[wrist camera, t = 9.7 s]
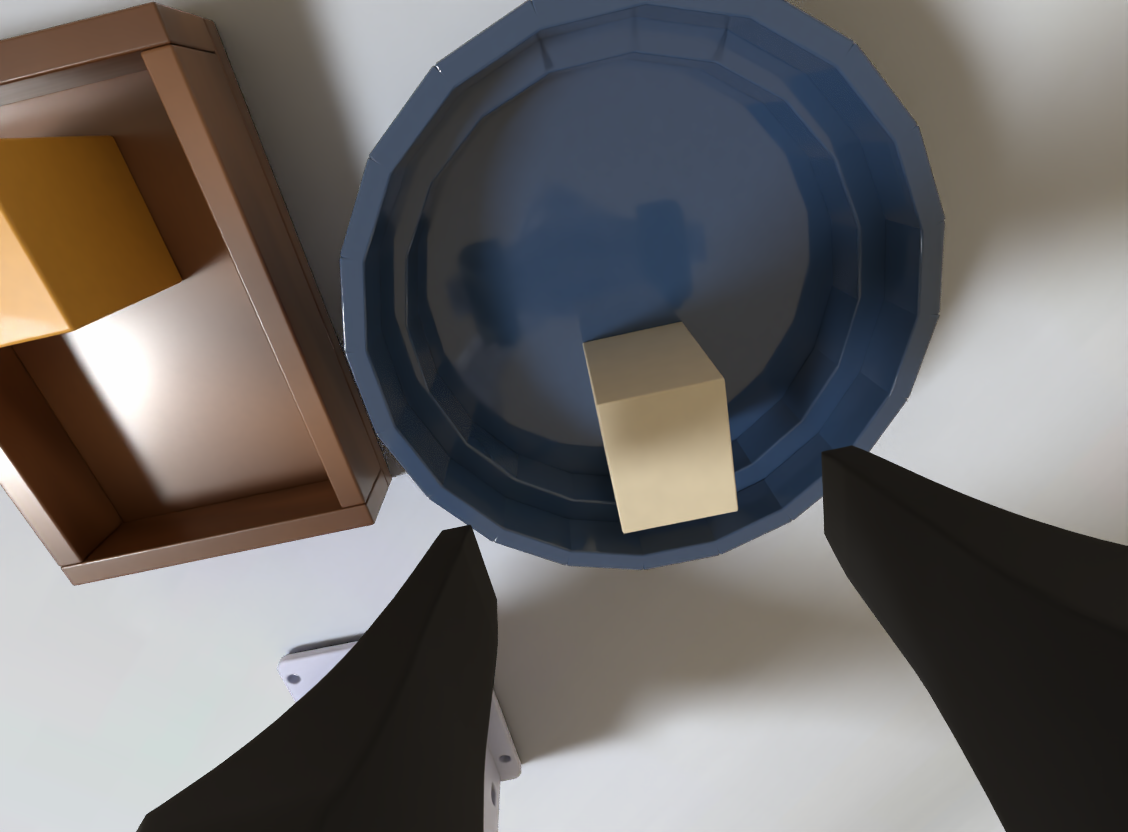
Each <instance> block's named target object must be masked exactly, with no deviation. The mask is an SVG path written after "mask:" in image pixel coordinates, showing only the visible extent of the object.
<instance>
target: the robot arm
mask: <svg viewBox="0 0 1128 832" xmlns="http://www.w3.org/2000/svg"><path fill="white" fill-rule="evenodd" d="M821 458H822V483H823V509H824V534H825V536H826V538H827V540H828V542H829V544H830V546H831V548H832V550H833V552H834V554H835V555H836V557H837V559H838V561H839V563H840V565H841V567H842V568H843V570H844V572H845V574H846V576H847V577H848V579H849V580H850V582H851V583H852V584H853V586H854V587H855V589H856V590H857V591H858V593H859V594H860V596H861V597H862V599H863V600H864V601H865V603H866V604H867V606H868V607H869V608H870V610H871V611H872V613H873V614H874V615H875V617H876V618H877V619H878V621H879V622H880V624H881V625H882V626H883V628H884V629H885V630H886V632H887V633H888V635H889V636H890V637H891V639H892V640H893V642H894V643H895V644H896V646H897V647H898V648H899V650H900V651H901V653H902V654H903V655H904V657H905V658H906V660H907V661H908V662H909V664H910V665H911V666H912V668H913V669H914V671H915V672H916V674H917V675H918V677H919V678H920V680H921V681H922V683H923V684H924V686H925V687H926V689H927V690H928V692H929V694H930V695H931V697H932V699H933V701H934V702H935V704H936V706H937V707H938V709H939V711H940V713H941V714H942V716H943V718H944V720H945V721H946V723H947V725H948V726H949V728H950V730H951V732H952V733H953V735H954V737H955V739H956V740H957V742H958V744H959V746H960V747H961V749H962V751H963V753H964V755H965V757H966V758H967V760H968V762H969V764H970V766H971V767H972V769H973V771H974V773H975V775H976V777H977V778H978V780H979V782H980V784H981V786H982V787H983V789H984V791H985V793H986V795H987V797H988V798H989V800H990V802H991V804H992V806H993V808H994V810H995V812H996V814H997V816H998V818H999V820H1000V821H1001V823H1002V825H1003V827H1004V829H1005V831H1006V832H1128V546H1125V545H1121V544H1117V543H1113V542H1109V541H1105V540H1101V539H1097V538H1093V537H1089V536H1086V535H1082V534H1078V533H1075V532H1071V531H1068V530H1065V529H1062V528H1058V527H1055V526H1052V525H1049V524H1046V523H1042V522H1039V521H1036V520H1033V519H1029V518H1026V517H1024V516H1021V515H1018V514H1015V513H1012V512H1009V511H1006V510H1004V509H1001V508H998V507H996V506H993V505H990V504H988V503H985V502H983V501H980V500H977V499H975V498H972V497H970V496H967V495H965V494H962V493H960V492H957V491H955V490H953V489H950V488H948V487H946V486H943V485H941V484H939V483H936V482H934V481H932V480H929V479H927V478H925V477H923V476H920V475H918V474H916V473H914V472H912V471H909V470H907V469H905V468H903V467H901V466H898V465H896V464H894V463H892V462H890V461H888V460H885V459H883V458H881V457H879V456H876V455H874V454H872V453H870V452H867V451H865V450H863V449H860V448H858V447H855V446H852V445H851V446H847V447H842V448H837V449H832V450H827V451H822V452H821ZM497 647H498V621H497V599H496V596H495V593H494V590H493V587H492V584H491V581H490V578H489V575H488V573H487V570H486V567H485V564H484V561H483V558H482V555H481V552H480V549H479V547H478V544H477V541H476V538H475V535H474V532H473V529H472V526H471V525H466V526H462V527H457V528H452V529H447V530H442V532H441V533H440V534H439V536H438V537H437V538H436V540H435V541H434V543H433V544H432V545H431V547H430V548H429V550H428V551H427V553H426V554H425V555H424V557H423V558H422V560H421V561H420V562H419V564H418V565H417V567H416V568H415V570H414V571H413V572H412V574H411V575H410V576H409V578H408V579H407V581H406V582H405V583H404V585H403V586H402V587H401V589H400V590H399V591H398V593H397V594H396V596H395V597H394V598H393V599H392V601H391V602H390V603H389V604H388V606H387V607H386V608H385V609H384V611H383V612H382V613H381V614H380V615H379V617H378V618H377V619H376V620H375V622H374V623H373V624H372V625H371V627H370V628H369V629H368V630H367V631H366V633H365V634H364V635H363V636H362V637H361V638H360V640H359V641H355V642H350V643H345V644H340V645H335V646H330V647H325V648H319V649H314V650H309V651H304V652H299V653H294V654H289V655H285V656H283V657H282V658H281V659H280V661H279V663H278V665H277V671H278V673H279V675H280V676H281V678H282V680H283V682H284V683H285V685H286V687H287V689H288V690H289V692H290V694H291V696H292V697H293V699H294V701H295V702H296V703H295V704H294V705H293V706H292V707H291V708H289V709H288V710H287V711H286V712H285V713H284V714H283V715H282V716H281V717H279V718H278V719H277V720H276V721H275V722H274V723H272V724H271V725H270V726H269V727H267V728H266V729H265V730H264V731H262V732H261V733H260V734H259V735H258V736H256V737H255V738H254V739H253V740H251V741H250V742H249V743H247V744H246V745H245V746H243V747H242V748H241V749H240V750H238V751H237V752H236V753H234V754H233V755H232V756H230V757H229V758H228V759H227V760H225V761H224V762H222V763H221V764H220V765H218V766H217V767H216V768H214V769H213V770H211V771H210V772H209V773H207V774H206V775H204V776H203V777H201V778H200V779H198V780H197V781H195V782H194V783H193V784H191V785H190V786H188V787H187V788H185V789H184V790H182V791H181V792H179V793H178V794H176V795H175V796H174V797H172V798H171V799H169V800H168V801H166V802H165V803H163V804H162V805H160V806H159V807H157V808H156V809H154V810H153V811H151V812H149V813H148V814H146V816H145V818H144V819H143V821H142V823H141V824H140V826H139V828H138V830H137V831H136V832H498V819H499V799H500V781H506V780H511V779H515V778H517V777H518V776H520V774H521V762H520V759H519V757H518V754H517V751H516V749H515V746H514V743H513V741H512V738H511V735H510V732H509V730H508V727H507V724H506V722H505V719H504V716H503V714H502V711H501V708H500V706H499V703H498V700H497V697H496V695H495V692H494V689H493V685H494V676H495V667H496V657H497ZM293 674H295V675H293ZM296 675H298V676H296Z"/></svg>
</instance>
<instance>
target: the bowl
mask: <svg viewBox="0 0 1128 832" xmlns="http://www.w3.org/2000/svg"><path fill="white" fill-rule="evenodd" d="M944 220H945V216H944V212H943V209H942V205H941V202H940V198H939V195H938V191H937V188H936V184H935V181H934V177H933V174H932V170H931V167H930V163H929V160H928V156H927V153H926V149H925V146H924V142H923V139H922V135H921V132H920V128H919V126H918V125H917V123H916V121H915V120H914V119H913V117H912V116H911V115H910V113H909V112H908V111H907V109H906V108H905V107H904V105H903V104H902V103H901V101H900V100H899V99H898V97H897V96H896V95H895V93H894V92H893V91H892V89H891V88H890V87H889V85H888V84H887V83H886V81H885V80H884V79H883V78H882V76H881V75H880V74H879V72H878V71H877V70H876V68H875V67H874V66H873V64H872V63H871V62H870V60H869V59H868V58H867V56H866V55H865V54H864V52H863V51H862V50H861V48H860V47H859V46H858V44H856V43H854V41H853V40H852V39H850V38H848V37H847V36H845V35H843V34H842V33H840V32H838V31H837V30H835V29H833V28H832V27H830V26H828V25H826V24H825V23H823V22H821V21H820V20H818V19H816V18H815V17H813V16H811V15H810V14H808V13H806V12H804V11H803V10H801V9H799V8H798V7H796V6H794V5H793V4H791V3H789V2H787V1H786V0H527V1H525V2H524V3H523V4H521V5H520V6H518V7H517V8H515V9H514V10H512V11H511V12H509V13H508V14H507V15H505V16H504V17H502V18H501V19H499V20H498V21H496V22H495V23H493V24H492V25H491V26H489V27H488V28H486V29H485V30H483V31H482V32H480V33H479V34H477V35H476V36H475V37H473V38H472V39H470V40H469V41H467V42H466V43H464V44H463V45H462V46H460V47H459V48H457V49H456V50H454V51H453V52H451V53H450V54H448V55H447V56H446V57H444V58H443V59H441V60H440V61H438V62H437V63H436V64H435V66H432V68H431V69H430V70H429V72H428V73H427V75H426V76H425V77H424V79H423V80H422V82H421V83H420V84H419V86H418V87H417V88H416V90H415V91H414V93H413V94H412V95H411V97H410V98H409V100H408V101H407V102H406V104H405V105H404V107H403V108H402V109H401V111H400V112H399V114H398V115H397V116H396V118H395V119H394V121H393V122H392V123H391V125H390V126H389V128H388V129H387V130H386V132H385V133H384V135H383V136H382V137H381V139H380V140H379V142H378V143H377V144H376V146H375V147H374V149H373V150H372V151H371V153H370V154H369V158H368V159H367V163H366V166H365V170H364V173H363V176H362V180H361V183H360V187H359V190H358V194H357V197H356V201H355V204H354V207H353V211H352V214H351V218H350V221H349V225H348V228H347V232H346V235H345V238H344V242H343V245H342V249H341V252H340V255H341V257H340V259H339V262H340V282H341V303H342V324H343V344H344V351H345V356H346V358H347V361H348V363H349V366H350V368H351V371H352V373H353V376H354V379H355V381H356V384H357V386H358V389H359V391H360V394H361V397H362V399H363V402H364V404H365V407H366V409H367V412H368V415H369V417H370V420H371V422H372V425H373V427H374V430H375V432H376V433H377V436H378V437H379V438H380V440H381V441H382V442H383V443H384V445H385V446H386V447H387V448H388V449H389V451H390V452H391V453H392V454H393V456H394V457H395V458H396V459H397V461H398V462H399V463H400V464H401V465H402V467H403V468H404V469H405V470H406V472H407V473H408V474H409V475H410V477H411V478H412V479H413V480H414V481H415V483H416V484H417V485H418V486H419V488H420V489H421V490H422V491H423V493H424V494H425V495H426V496H427V497H428V498H429V499H430V500H432V501H433V502H434V503H436V504H437V505H439V506H440V507H442V508H443V509H445V510H446V511H448V512H449V513H451V514H452V515H454V516H455V517H457V518H458V519H460V520H461V521H463V522H464V523H466V524H467V525H471V526H472V528H473V529H474V530H476V531H477V532H479V533H480V534H482V535H483V536H485V537H486V538H488V539H489V540H491V541H494V542H495V543H498V544H501V545H504V546H507V547H510V548H514V549H517V550H520V551H523V552H526V553H529V554H532V555H535V556H538V557H541V558H544V559H547V560H550V561H553V562H556V563H559V564H562V565H568V566H578V567H596V568H614V569H632V570H643V569H644V570H647V569H652V568H657V567H662V566H667V565H672V564H677V563H682V562H687V561H692V560H697V559H703V558H708V557H713V556H718V555H719V553H720V554H723V553H726V552H728V551H730V550H732V549H734V548H736V547H738V546H740V545H743V544H745V543H747V542H749V541H751V540H753V539H755V538H758V537H760V536H762V535H764V534H766V533H768V532H770V531H772V530H775V529H777V528H779V527H781V526H783V525H785V524H787V523H790V522H791V521H792V520H795V519H796V518H797V517H798V516H799V515H801V514H802V513H803V512H804V511H806V510H807V509H808V508H809V507H810V506H812V505H813V504H814V503H815V502H817V501H818V500H819V499H820V498H822V497H823V483H822V458H821V452H822V451H827V450H832V449H837V448H842V447H847V446H851V445H852V446H855V447H858V448H860V449H863V450H865V451H867V452H870V450H871V449H872V447H873V446H874V445H875V443H876V442H877V441H878V439H879V438H880V437H881V435H882V434H883V432H884V431H885V430H886V428H887V427H888V426H889V424H890V423H891V422H892V420H893V419H894V417H895V416H896V415H897V413H898V412H899V411H900V409H901V408H902V406H903V405H904V404H905V402H906V401H907V398H909V396H910V393H911V391H912V388H913V385H914V383H915V380H916V377H917V375H918V372H919V369H920V367H921V364H922V361H923V358H924V356H925V353H926V350H927V348H928V345H929V342H930V340H931V337H932V334H933V332H934V329H935V326H936V324H937V321H938V318H939V312H940V301H941V284H942V266H943V249H944V231H945V221H944ZM677 322H682V323H683V324H684V325H685V327H686V328H687V329H688V331H689V332H690V333H691V335H692V336H693V337H694V339H695V340H696V341H697V343H698V344H699V345H700V347H701V348H702V349H703V351H704V352H705V353H706V355H707V356H708V357H709V359H710V360H711V361H712V363H713V364H714V365H715V367H716V368H717V370H718V371H719V372H720V374H721V375H722V376H723V378H724V379H725V388H726V398H727V407H728V417H729V426H730V436H731V445H732V455H733V464H734V474H735V483H736V493H737V502H738V511H735V512H730V513H725V514H720V515H715V516H710V517H705V518H700V519H695V520H690V521H685V522H680V523H675V524H670V525H665V526H660V527H655V528H650V529H645V530H640V531H635V532H630V533H623V532H622V527H621V522H620V518H619V513H618V509H617V504H616V500H615V495H614V490H613V486H612V481H611V477H610V472H609V467H608V463H607V458H606V454H605V449H604V444H603V440H602V435H601V430H600V425H599V420H598V416H597V411H596V406H595V401H594V396H593V392H592V387H591V382H590V377H589V372H588V368H587V363H586V358H585V353H584V348H583V343H585V342H589V341H594V340H598V339H603V338H608V337H612V336H617V335H622V334H626V333H631V332H635V331H640V330H645V329H649V328H654V327H659V326H663V325H668V324H672V323H677Z"/></svg>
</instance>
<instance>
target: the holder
mask: <svg viewBox="0 0 1128 832" xmlns="http://www.w3.org/2000/svg"><path fill="white" fill-rule="evenodd" d="M100 135H109V136H112V137H113V138H114V140H115V142H116V144H117V146H118V148H119V150H120V152H121V154H122V156H123V158H124V160H125V162H126V165H127V167H128V169H129V171H130V173H131V175H132V177H133V179H134V181H135V183H136V185H137V187H138V189H139V191H140V193H141V195H142V198H143V200H144V202H145V204H146V206H147V208H148V210H149V212H150V214H151V216H152V218H153V220H154V222H155V224H156V226H157V228H158V231H159V233H160V235H161V237H162V239H163V241H164V243H165V245H166V247H167V249H168V251H169V253H170V255H171V257H172V259H173V261H174V264H175V266H176V268H177V270H178V272H179V274H180V276H181V278H182V282H180V283H178V284H176V285H174V286H172V287H170V288H167V289H165V290H163V291H161V292H159V293H157V294H154V295H152V296H150V297H148V298H146V299H143V300H141V301H139V302H137V303H135V304H132V305H130V306H128V307H126V308H124V309H121V310H119V311H117V312H115V313H113V314H110V315H108V316H106V317H104V318H102V319H99V320H97V321H95V322H93V323H91V324H88V325H86V326H84V327H82V328H80V329H77V330H75V331H72V332H68V333H63V334H59V335H55V336H50V337H46V338H41V339H37V340H33V341H28V342H24V343H19V344H15V345H11V346H6V347H2V348H0V484H1V486H2V487H3V489H4V490H5V491H6V493H7V494H8V496H9V497H10V498H11V500H12V501H13V503H14V504H15V505H16V507H17V508H18V509H19V511H20V512H21V514H22V515H23V516H24V518H25V519H26V521H27V522H28V523H29V525H30V526H31V528H32V529H33V530H34V532H35V533H36V535H37V536H38V537H39V539H40V540H41V541H42V543H43V544H44V546H45V547H46V548H47V550H48V551H49V553H50V554H51V555H52V557H53V558H54V560H55V561H56V562H57V564H58V565H59V566H62V567H61V569H62V571H63V572H64V573H65V575H66V576H67V577H68V579H69V580H70V582H71V583H72V584H73V585H74V586H75V585H80V584H85V583H90V582H95V581H100V580H105V579H110V578H114V577H119V576H124V575H129V574H134V573H139V572H144V571H149V570H153V569H158V568H163V567H168V566H173V565H178V564H183V563H188V562H193V561H197V560H202V559H207V558H212V557H217V556H222V555H227V554H232V553H236V552H241V551H246V550H251V549H256V548H261V547H266V546H271V545H275V544H280V543H285V542H290V541H295V540H300V539H305V538H310V537H314V536H319V535H324V534H329V533H334V532H339V531H344V530H349V529H353V528H358V527H363V526H368V525H373V524H374V523H375V521H376V518H377V515H378V513H379V510H380V508H381V505H382V503H383V500H384V498H385V495H386V493H387V490H388V487H389V485H390V482H391V480H392V477H391V475H390V472H389V469H388V467H387V464H386V462H385V459H384V457H383V454H382V451H381V449H380V446H379V444H378V441H377V439H376V436H375V434H374V431H373V428H372V426H371V423H370V421H369V418H368V416H367V413H366V410H365V408H364V405H363V403H362V400H361V398H360V395H359V393H358V390H357V387H356V385H355V382H354V380H353V377H352V375H351V372H350V369H349V367H348V364H347V362H346V359H345V357H344V354H343V352H342V349H341V346H340V344H339V341H338V339H337V336H336V334H335V331H334V329H333V326H332V323H331V321H330V318H329V316H328V313H327V311H326V308H325V305H324V303H323V300H322V298H321V295H320V293H319V290H318V288H317V285H316V282H315V280H314V277H313V275H312V272H311V270H310V267H309V264H308V262H307V259H306V257H305V254H304V252H303V249H302V247H301V244H300V241H299V239H298V236H297V234H296V231H295V229H294V226H293V223H292V221H291V218H290V216H289V213H288V211H287V208H286V206H285V203H284V200H283V198H282V195H281V193H280V190H279V188H278V185H277V182H276V180H275V177H274V175H273V172H272V170H271V167H270V165H269V162H268V159H267V157H266V154H265V152H264V149H263V147H262V144H261V142H260V139H259V136H258V134H257V131H256V129H255V126H254V124H253V121H252V118H251V116H250V113H249V111H248V108H247V106H246V103H245V101H244V98H243V95H242V93H241V90H240V88H239V85H238V83H237V80H236V77H235V75H234V72H233V70H232V67H231V65H230V62H229V60H228V57H227V54H226V52H225V49H224V47H223V44H222V42H221V39H220V36H219V34H218V31H217V29H216V26H215V24H214V22H213V21H212V20H209V19H206V18H202V17H200V16H197V15H194V14H190V13H187V12H184V11H181V10H178V9H175V8H172V7H168V6H165V5H162V4H159V3H156V2H150V3H146V4H142V5H138V6H134V7H130V8H126V9H122V10H118V11H114V12H110V13H106V14H102V15H98V16H94V17H90V18H86V19H82V20H78V21H74V22H70V23H67V24H63V25H59V26H55V27H51V28H47V29H43V30H39V31H35V32H31V33H27V34H23V35H19V36H15V37H11V38H7V39H3V40H0V139H2V138H34V137H67V136H100Z"/></svg>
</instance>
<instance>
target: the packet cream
mask: <svg viewBox="0 0 1128 832" xmlns="http://www.w3.org/2000/svg"><path fill="white" fill-rule="evenodd" d="M583 348H584V353H585V358H586V363H587V368H588V372H589V377H590V382H591V387H592V392H593V396H594V401H595V406H596V411H597V416H598V420H599V425H600V430H601V435H602V440H603V444H604V449H605V454H606V458H607V463H608V467H609V472H610V477H611V481H612V486H613V490H614V495H615V500H616V504H617V509H618V513H619V518H620V522H621V527H622V532H623V533H630V532H635V531H640V530H645V529H650V528H655V527H660V526H665V525H670V524H675V523H680V522H685V521H690V520H695V519H700V518H705V517H710V516H715V515H720V514H725V513H730V512H735V511H738V502H737V493H736V483H735V474H734V464H733V455H732V445H731V436H730V426H729V417H728V407H727V398H726V388H725V379H724V378H723V376H722V375H721V374H720V372H719V371H718V370H717V368H716V367H715V365H714V364H713V363H712V361H711V360H710V359H709V357H708V356H707V355H706V353H705V352H704V351H703V349H702V348H701V347H700V345H699V344H698V343H697V341H696V340H695V339H694V337H693V336H692V335H691V333H690V332H689V331H688V329H687V328H686V327H685V325H684V324H683V323H682V322H677V323H672V324H668V325H663V326H659V327H654V328H649V329H645V330H640V331H635V332H631V333H626V334H622V335H617V336H612V337H608V338H603V339H598V340H594V341H589V342H585V343H583Z"/></svg>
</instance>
